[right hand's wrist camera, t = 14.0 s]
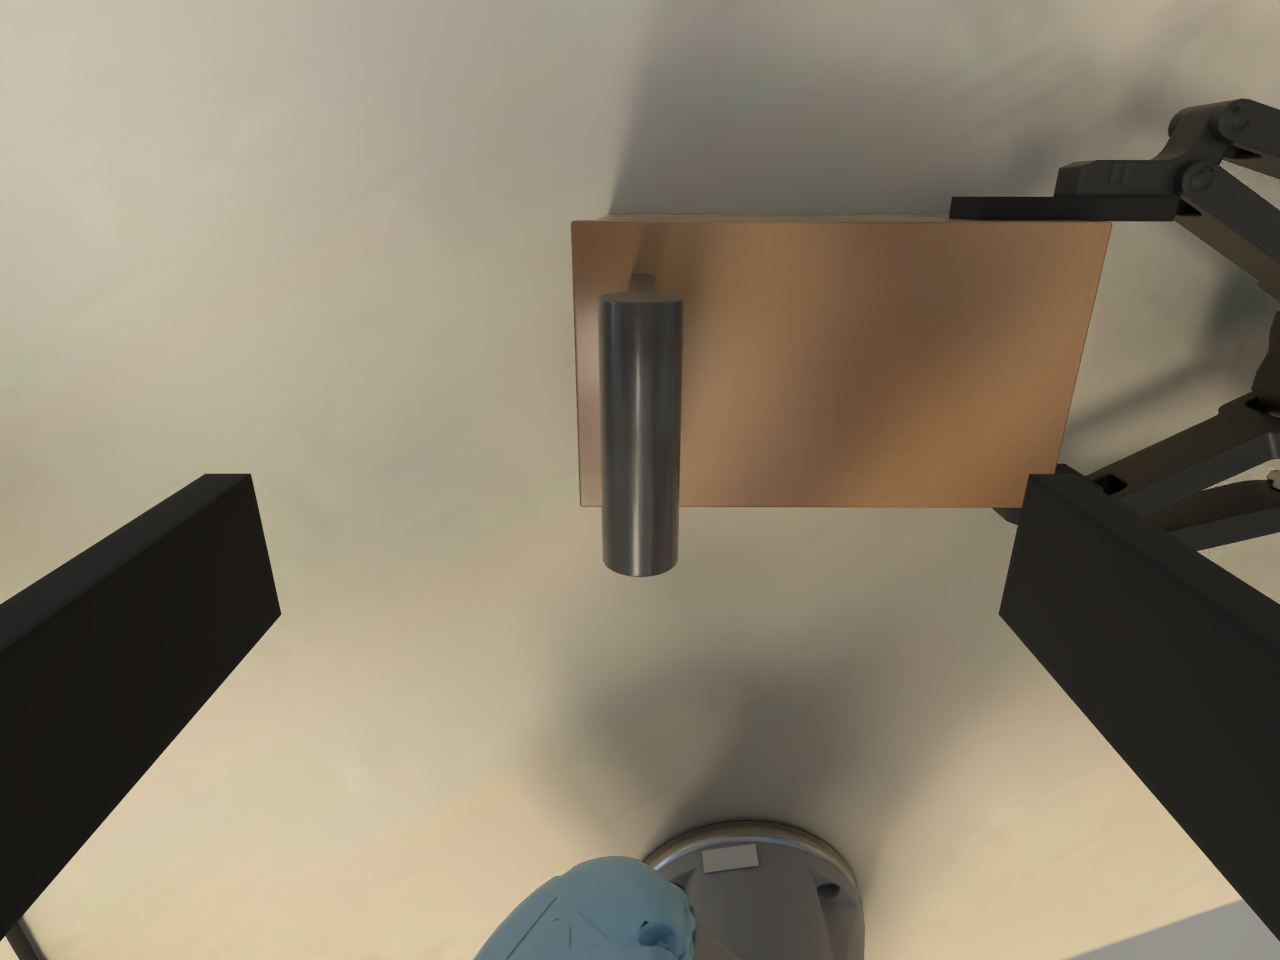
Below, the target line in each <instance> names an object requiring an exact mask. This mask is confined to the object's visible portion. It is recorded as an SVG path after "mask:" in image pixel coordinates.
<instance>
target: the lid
mask: <svg viewBox="0 0 1280 960" xmlns="http://www.w3.org/2000/svg"><path fill="white" fill-rule="evenodd" d="M1111 228H1112V223H1111V222H1103V221H761V220H575V221H572V222H571V238H572V269H573V300H574V331H575V362H576V393H577V423H578V454H579V485H580V506H582V507H602V543H603V561H604V563H605V565H606V566H607V567H608V568H609V569H610V570H612V571H614V572H616V573H619V574H622V575H627V576H634V577H647V576H654V575H659V574H662V573H665V572H667V571H669V570H670V569H672V568H673V567H674V566H675V565H676V563H677V561H678V534H679V507H973V508H1022V505H1023V500H1024V495H1025V491H1026V486H1027V481H1028V477H1029V474H1055V469H1056V465H1057V461H1058V456H1059V452H1060V448H1061V444H1062V439H1063V435H1064V431H1065V426H1066V422H1067V418H1068V413H1069V409H1070V405H1071V400H1072V396H1073V392H1074V387H1075V383H1076V379H1077V375H1078V370H1079V366H1080V362H1081V357H1082V353H1083V349H1084V344H1085V340H1086V336H1087V331H1088V327H1089V323H1090V318H1091V314H1092V310H1093V305H1094V301H1095V297H1096V293H1097V288H1098V284H1099V280H1100V275H1101V271H1102V267H1103V262H1104V258H1105V254H1106V249H1107V245H1108V241H1109V236H1110V232H1111Z"/></svg>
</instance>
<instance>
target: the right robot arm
mask: <svg viewBox="0 0 1280 960" xmlns="http://www.w3.org/2000/svg"><path fill="white" fill-rule="evenodd" d="M280 615H281V611H280V606H279V602H278V597H277V592H276V588H275V583H274V579H273V574H272V569H271V565H270V560H269V555H268V551H267V546H266V542H265V537H264V532H263V528H262V523H261V518H260V514H259V509H258V505H257V500H256V495H255V491H254V486H253V481H252V477H251V474H204V475H203V476H201V477H200V478H198V479H197V480H195V481H193V482H192V483H190V484H189V485H187V486H186V487H184V488H182V489H181V490H179V491H178V492H176V493H175V494H173V495H171V496H170V497H168V498H167V499H165V500H164V501H162V502H160V503H159V504H157V505H156V506H154V507H153V508H151V509H149V510H148V511H146V512H145V513H143V514H142V515H140V516H139V517H137V518H135V519H134V520H132V521H131V522H129V523H128V524H126V525H124V526H123V527H121V528H120V529H118V530H117V531H115V532H113V533H112V534H110V535H109V536H107V537H106V538H104V539H102V540H101V541H99V542H98V543H96V544H95V545H93V546H91V547H90V548H88V549H87V550H85V551H84V552H82V553H80V554H79V555H77V556H76V557H74V558H73V559H71V560H69V561H68V562H66V563H65V564H63V565H62V566H60V567H58V568H57V569H55V570H54V571H52V572H51V573H49V574H47V575H46V576H44V577H43V578H41V579H40V580H38V581H36V582H35V583H33V584H32V585H30V586H29V587H27V588H26V589H24V590H22V591H21V592H19V593H18V594H16V595H15V596H13V597H11V598H10V599H8V600H7V601H5V602H4V603H2V604H0V941H1V940H2V939H3V938H4V936H6V938H7V939H8V941H9V943H10V944H11V946H12V948H13V950H14V951H15V953H16V955H17V956H18V958H19V960H39V959H38V957H37V955H36V954H35V952H34V950H33V949H32V947H31V945H30V943H29V942H28V940H27V938H26V936H25V935H24V933H23V931H22V929H21V928H20V926H19V924H18V922H17V921H18V920H19V919H20V918H21V917H22V915H23V914H24V913H25V912H26V911H27V910H28V908H29V907H30V906H31V905H32V904H33V903H34V902H35V900H36V899H37V898H38V897H39V896H40V895H41V893H42V892H43V891H44V890H45V889H46V888H47V886H48V885H49V884H50V883H51V882H52V881H53V879H54V878H55V877H56V876H57V875H58V874H59V872H60V871H61V870H62V869H63V868H64V867H65V865H66V864H67V863H68V862H69V861H70V860H71V858H72V857H73V856H74V855H75V854H76V853H77V851H78V850H79V849H80V848H81V847H82V846H83V844H84V843H85V842H86V841H87V840H88V839H89V838H90V836H91V835H92V834H93V833H94V832H95V831H96V829H97V828H98V827H99V826H100V825H101V824H102V822H103V821H104V820H105V819H106V818H107V817H108V815H109V814H110V813H111V812H112V811H113V810H114V808H115V807H116V806H117V805H118V804H119V803H120V801H121V800H122V799H123V798H124V797H125V796H126V794H127V793H128V792H129V791H130V790H131V789H132V787H133V786H134V785H135V784H136V783H137V782H138V780H139V779H140V778H141V777H142V776H143V775H144V774H145V772H146V771H147V770H148V769H149V768H150V767H151V765H152V764H153V763H154V762H155V761H156V760H157V758H158V757H159V756H160V755H161V754H162V753H163V751H164V750H165V749H166V748H167V747H168V746H169V744H170V743H171V742H172V741H173V740H174V739H175V737H176V736H177V735H178V734H179V733H180V732H181V730H182V729H183V728H184V727H185V726H186V725H187V723H188V722H189V721H190V720H191V719H192V718H193V716H194V715H195V714H196V713H197V712H198V711H199V710H200V708H201V707H202V706H203V705H204V704H205V703H206V701H207V700H208V699H209V698H210V697H211V696H212V694H213V693H214V692H215V691H216V690H217V689H218V687H219V686H220V685H221V684H222V683H223V682H224V680H225V679H226V678H227V677H228V676H229V675H230V673H231V672H232V671H233V670H234V669H235V668H236V666H237V665H238V664H239V663H240V662H241V661H242V659H243V658H244V657H245V656H246V655H247V654H248V653H249V651H250V650H251V649H252V648H253V647H254V646H255V644H256V643H257V642H258V641H259V640H260V639H261V637H262V636H263V635H264V634H265V633H266V632H267V630H268V629H269V628H270V627H271V626H272V625H273V623H274V622H275V621H276V620H277V619H278V618H279V616H280ZM999 615H1000V616H1001V618H1002V619H1003V620H1004V621H1005V622H1006V623H1007V625H1008V626H1009V627H1010V628H1011V629H1012V630H1013V632H1014V633H1015V634H1016V635H1017V636H1018V637H1019V639H1020V640H1021V641H1022V642H1023V643H1024V644H1025V646H1026V647H1027V648H1028V649H1029V650H1030V651H1031V653H1032V654H1033V655H1034V656H1035V657H1036V658H1037V659H1038V661H1039V662H1040V663H1041V664H1042V665H1043V666H1044V668H1045V669H1046V670H1047V671H1048V672H1049V673H1050V675H1051V676H1052V677H1053V678H1054V679H1055V680H1056V682H1057V683H1058V684H1059V685H1060V686H1061V687H1062V689H1063V690H1064V691H1065V692H1066V693H1067V694H1068V696H1069V697H1070V698H1071V699H1072V700H1073V701H1074V703H1075V704H1076V705H1077V706H1078V707H1079V708H1080V710H1081V711H1082V712H1083V713H1084V714H1085V715H1086V717H1087V718H1088V719H1089V720H1090V721H1091V722H1092V723H1093V725H1094V726H1095V727H1096V728H1097V729H1098V730H1099V732H1100V733H1101V734H1102V735H1103V736H1104V737H1105V739H1106V740H1107V741H1108V742H1109V743H1110V744H1111V746H1112V747H1113V748H1114V749H1115V750H1116V751H1117V753H1118V754H1119V755H1120V756H1121V757H1122V758H1123V760H1124V761H1125V762H1126V763H1127V764H1128V765H1129V767H1130V768H1131V769H1132V770H1133V771H1134V772H1135V774H1136V775H1137V776H1138V777H1139V778H1140V779H1141V780H1142V782H1143V783H1144V784H1145V785H1146V786H1147V787H1148V789H1149V790H1150V791H1151V792H1152V793H1153V794H1154V796H1155V797H1156V798H1157V799H1158V800H1159V801H1160V803H1161V804H1162V805H1163V806H1164V807H1165V808H1166V810H1167V811H1168V812H1169V813H1170V814H1171V815H1172V817H1173V818H1174V819H1175V820H1176V821H1177V822H1178V824H1179V825H1180V826H1181V827H1182V828H1183V829H1184V831H1185V832H1186V833H1187V834H1188V835H1189V836H1190V838H1191V839H1192V840H1193V841H1194V842H1195V843H1196V844H1197V846H1198V847H1199V848H1200V849H1201V850H1202V851H1203V853H1204V854H1205V855H1206V856H1207V857H1208V858H1209V860H1210V861H1211V862H1212V863H1213V864H1214V865H1215V867H1216V868H1217V869H1218V870H1219V871H1220V872H1221V874H1222V875H1223V876H1224V877H1225V878H1226V879H1227V881H1228V882H1229V883H1230V884H1231V885H1232V886H1233V888H1234V889H1235V890H1236V891H1237V892H1238V893H1239V895H1240V896H1241V897H1242V898H1243V899H1244V900H1245V902H1246V903H1247V904H1248V905H1249V906H1250V907H1251V908H1252V910H1253V911H1254V912H1255V913H1256V914H1257V915H1258V917H1259V918H1260V919H1261V920H1262V921H1263V922H1264V924H1265V925H1266V926H1267V927H1268V928H1269V929H1270V931H1271V932H1272V933H1273V934H1274V935H1275V936H1276V938H1277V939H1278V940H1279V941H1280V604H1278V603H1276V602H1275V601H1273V600H1272V599H1270V598H1269V597H1267V596H1265V595H1264V594H1262V593H1261V592H1259V591H1258V590H1256V589H1254V588H1253V587H1251V586H1250V585H1248V584H1247V583H1245V582H1243V581H1242V580H1240V579H1239V578H1237V577H1236V576H1234V575H1233V574H1231V573H1229V572H1228V571H1226V570H1225V569H1223V568H1222V567H1220V566H1218V565H1217V564H1215V563H1214V562H1212V561H1211V560H1209V559H1207V558H1206V557H1204V556H1203V555H1201V554H1200V553H1198V552H1196V551H1195V550H1193V549H1192V548H1190V547H1189V546H1187V545H1185V544H1184V543H1182V542H1181V541H1179V540H1178V539H1176V538H1174V537H1173V536H1171V535H1170V534H1168V533H1167V532H1165V531H1163V530H1162V529H1160V528H1159V527H1157V526H1156V525H1154V524H1152V523H1151V522H1149V521H1148V520H1146V519H1145V518H1143V517H1141V516H1140V515H1138V514H1137V513H1135V512H1134V511H1132V510H1131V509H1129V508H1127V507H1126V506H1124V505H1123V504H1121V503H1120V502H1118V501H1116V500H1115V499H1113V498H1112V497H1110V496H1109V495H1107V494H1105V493H1104V492H1102V491H1101V490H1099V489H1098V488H1096V487H1094V486H1093V485H1091V484H1090V483H1088V482H1087V481H1085V480H1083V479H1082V478H1080V477H1079V476H1077V475H1076V474H1029V477H1028V481H1027V486H1026V491H1025V495H1024V500H1023V505H1022V509H1021V514H1020V518H1019V523H1018V528H1017V532H1016V537H1015V542H1014V546H1013V551H1012V555H1011V560H1010V565H1009V569H1008V574H1007V579H1006V583H1005V588H1004V592H1003V597H1002V602H1001V606H1000V611H999Z"/></svg>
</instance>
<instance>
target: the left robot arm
mask: <svg viewBox="0 0 1280 960" xmlns="http://www.w3.org/2000/svg"><path fill="white" fill-rule="evenodd" d="M1168 134H1169V137H1170V139H1169V140H1168V142H1167V144H1166V146H1165V147H1164V148H1163V150H1162V151H1161V152H1160V153H1159V154H1158V155H1157V156H1156V157H1154V158H1153V159H1151V160H1093V161H1081V162H1073V163H1071V164H1068V165H1066V166H1063V167H1061V168H1059V172H1058V176H1057V181H1056V186H1055V191H1054V196H1053V197H952V201H951V207H950V214H949V218H959V219H974V220H1084V221H1174V220H1175V221H1176V222H1178V223H1179V224H1180V225H1182V226H1183V227H1185V228H1186V229H1187V230H1189V231H1190V232H1192V233H1193V234H1195V235H1196V236H1197V237H1199V238H1200V239H1202V240H1203V241H1204V242H1206V243H1207V244H1209V245H1210V246H1211V247H1213V248H1214V249H1216V250H1217V251H1218V252H1220V253H1221V254H1223V255H1224V256H1225V257H1227V258H1228V259H1230V260H1231V261H1232V262H1234V263H1235V264H1237V265H1238V266H1239V267H1241V268H1242V269H1244V270H1245V271H1246V272H1248V273H1249V274H1251V275H1252V276H1253V277H1255V278H1256V279H1258V280H1259V281H1260V282H1259V283H1258V286H1260V287H1261V288H1262V289H1263V290H1265V291H1266V292H1268V293H1269V294H1270V295H1272V296H1273V297H1275V298H1276V299H1277V300H1279V301H1280V211H1279V210H1278V209H1277V208H1275V207H1274V206H1273V205H1271V204H1270V203H1269V202H1267V201H1266V200H1265V199H1263V198H1262V197H1261V196H1259V195H1258V194H1257V193H1255V192H1254V191H1253V190H1251V189H1250V188H1248V187H1247V186H1246V185H1244V184H1243V183H1242V182H1240V181H1239V180H1238V179H1236V178H1235V177H1234V176H1232V175H1231V174H1230V173H1228V172H1227V171H1226V170H1224V169H1223V168H1222V167H1220V166H1219V164H1220V163H1221V161H1222V160H1225V161H1228V162H1231V163H1233V164H1236V165H1239V166H1242V167H1245V168H1248V169H1251V170H1254V171H1257V172H1260V173H1263V174H1266V175H1269V176H1272V177H1275V178H1278V179H1280V110H1278V109H1275V108H1272V107H1270V106H1267V105H1264V104H1261V103H1258V102H1255V101H1252V100H1249V99H1237V100H1231V101H1225V102H1219V103H1212V104H1206V105H1200V106H1194V107H1188V108H1185V109H1182V110H1180V111H1179V112H1178V113H1177V114H1175V116H1174V117H1173V118H1172V120H1171V121H1170V125H1169V128H1168ZM1251 390H1253V391H1252V392H1250V393H1248V394H1246V395H1243V396H1241V397H1239V398H1237V399H1235V400H1233V401H1230V402H1228V403H1226V404H1224V405H1222V406H1221V407H1220V408H1219V409H1218V411H1219V413H1218V415H1216V416H1215V417H1212V418H1210V419H1208V420H1206V421H1204V422H1202V423H1199V424H1197V425H1195V426H1193V427H1191V428H1189V429H1186V430H1184V431H1182V432H1180V433H1178V434H1176V435H1173V436H1171V437H1169V438H1167V439H1165V440H1163V441H1160V442H1158V443H1156V444H1154V445H1152V446H1150V447H1147V448H1145V449H1143V450H1141V451H1139V452H1137V453H1134V454H1132V455H1130V456H1128V457H1126V458H1124V459H1121V460H1119V461H1117V462H1115V463H1113V464H1111V465H1108V466H1106V467H1104V468H1102V469H1100V470H1098V471H1095V472H1093V473H1091V474H1089V475H1087V476H1083V475H1082V474H1080V473H1079V472H1077V471H1075V470H1074V469H1072V468H1071V467H1069V466H1067V465H1066V464H1057V465H1056V469H1055V474H1076V475H1077V476H1079V477H1080V478H1082V479H1083V480H1085V481H1087V482H1088V483H1090V484H1091V485H1093V486H1094V487H1096V488H1098V489H1099V490H1101V491H1102V492H1104V493H1105V494H1107V495H1109V496H1110V497H1112V498H1113V499H1115V500H1116V501H1118V502H1120V503H1121V504H1123V505H1124V506H1126V507H1127V508H1129V509H1131V510H1132V511H1134V512H1135V513H1137V514H1138V515H1140V516H1141V517H1143V518H1145V519H1146V520H1148V521H1149V522H1151V523H1152V524H1154V525H1156V526H1157V527H1159V528H1160V529H1162V530H1163V531H1165V532H1167V533H1168V534H1170V535H1171V536H1173V537H1174V538H1176V539H1178V540H1179V541H1181V542H1182V543H1184V544H1185V545H1187V546H1189V547H1190V548H1192V549H1193V550H1195V551H1199V550H1204V549H1208V548H1213V547H1217V546H1221V545H1226V544H1230V543H1234V542H1239V541H1243V540H1247V539H1252V538H1256V537H1261V536H1265V535H1269V534H1274V533H1278V532H1280V471H1279V470H1274V471H1271V472H1270V473H1269V474H1268V475H1267V480H1250V481H1242V482H1237V483H1232V484H1228V485H1223V486H1219V487H1215V488H1211V489H1207V490H1203V489H1206V488H1208V487H1210V486H1212V485H1215V484H1217V483H1219V482H1221V481H1224V480H1226V479H1228V478H1230V477H1233V476H1235V475H1237V474H1239V473H1242V472H1244V471H1246V470H1248V469H1251V468H1253V467H1255V466H1257V465H1260V464H1262V463H1264V462H1266V461H1269V460H1272V459H1280V312H1276V314H1275V317H1274V320H1273V323H1272V326H1271V329H1270V338H1269V351H1268V353H1267V355H1266V357H1265V358H1264V360H1263V362H1262V363H1261V365H1260V367H1259V368H1258V370H1257V372H1256V375H1255V378H1254V382H1253V385H1252V388H1251ZM1201 490H1202V491H1201ZM992 509H994V510H995V511H996V512H997V513H998V514H999V515H1000V516H1002V517H1003V518H1004V519H1005V520H1006V521H1008V522H1011V523H1013V524H1016V525H1018V523H1019V518H1020V514H1021V509H1022V508H992ZM864 942H865V925H864V914H863V908H862V903H861V900H860V897H859V894H858V890H857V887H856V884H855V881H854V878H853V875H852V873H851V871H850V869H849V868H848V866H847V865H846V863H845V862H844V860H843V859H842V858H841V857H840V856H839V855H838V853H836V852H835V851H834V850H833V849H832V848H831V847H830V846H828V845H827V844H826V843H824V842H823V841H821V840H819V839H818V838H816V837H814V836H812V835H810V834H808V833H806V832H804V831H801V830H798V829H796V828H793V827H789V826H785V825H781V824H776V823H770V822H761V821H734V822H725V823H719V824H713V825H709V826H705V827H702V828H698V829H696V830H693V831H690V832H687V833H685V834H683V835H681V836H679V837H677V838H675V839H673V840H671V841H669V842H668V843H666V844H665V845H663V846H662V847H660V848H659V849H658V850H657V851H655V852H654V853H653V854H652V855H651V856H650V857H649V858H648V859H647V860H646V861H645V862H641V861H639V860H637V859H634V858H629V857H623V856H607V857H601V858H596V859H592V860H589V861H586V862H583V863H580V864H578V865H577V866H574V867H573V868H572V869H570V870H569V871H568V872H566V873H565V874H563V875H562V876H556V877H553V878H552V879H550V880H549V881H547V882H546V883H544V884H543V885H542V886H540V887H539V888H538V889H536V890H535V891H534V892H533V893H532V894H531V895H529V896H528V897H527V898H526V899H525V900H524V901H522V902H521V903H520V904H519V905H518V906H517V907H516V908H515V909H514V910H513V911H512V912H511V913H510V914H509V915H508V916H507V918H506V919H505V920H504V921H503V922H502V923H501V924H500V925H499V927H498V928H497V929H496V930H495V931H494V932H493V934H492V935H491V936H490V938H489V939H488V940H487V941H486V943H485V944H484V945H483V947H482V948H481V949H480V951H479V952H478V954H477V955H476V956H475V958H474V959H473V960H864Z"/></svg>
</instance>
